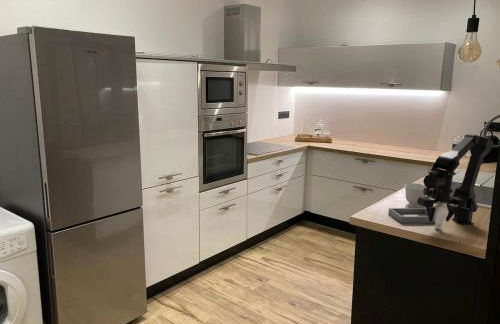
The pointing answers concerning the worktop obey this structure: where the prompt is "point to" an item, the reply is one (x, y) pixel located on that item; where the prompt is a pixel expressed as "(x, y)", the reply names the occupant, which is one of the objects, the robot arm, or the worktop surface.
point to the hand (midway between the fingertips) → (438, 221)
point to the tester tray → (410, 215)
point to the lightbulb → (440, 215)
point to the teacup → (414, 193)
